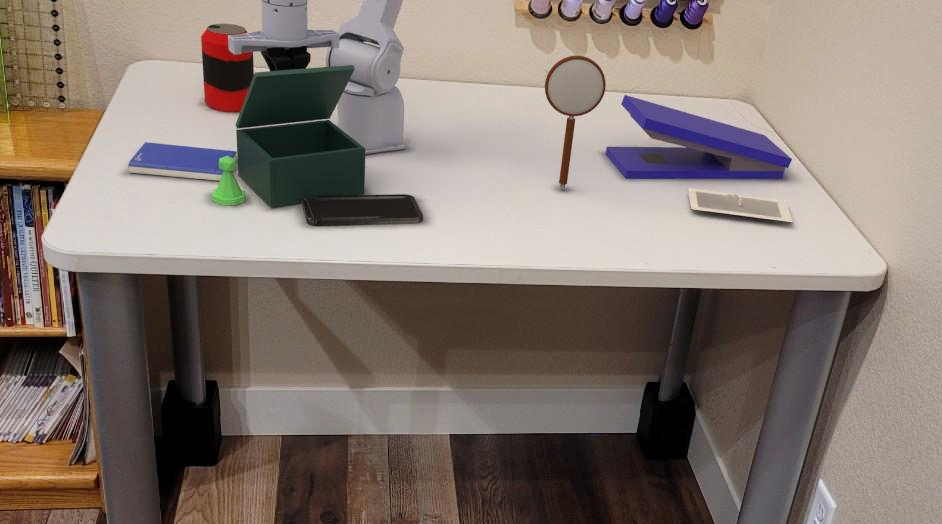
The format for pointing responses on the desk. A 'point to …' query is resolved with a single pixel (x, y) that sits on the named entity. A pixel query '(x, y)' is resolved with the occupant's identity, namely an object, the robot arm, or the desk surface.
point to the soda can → (225, 69)
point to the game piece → (228, 184)
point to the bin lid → (293, 95)
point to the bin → (300, 162)
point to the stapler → (695, 148)
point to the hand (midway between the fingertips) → (286, 102)
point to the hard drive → (179, 161)
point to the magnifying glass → (573, 97)
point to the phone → (361, 210)
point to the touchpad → (739, 205)
